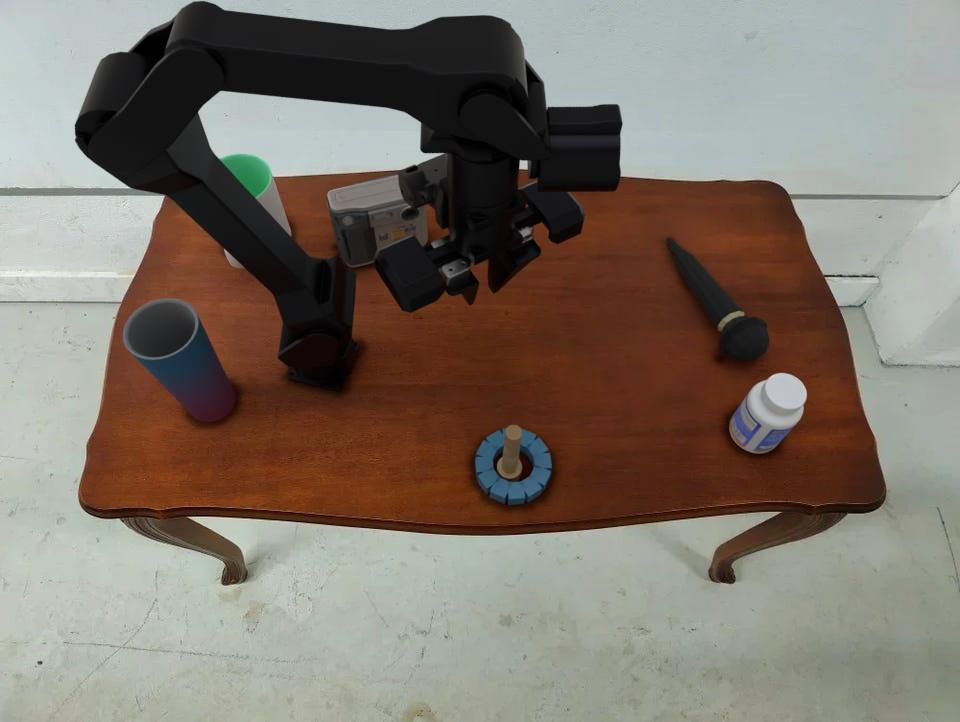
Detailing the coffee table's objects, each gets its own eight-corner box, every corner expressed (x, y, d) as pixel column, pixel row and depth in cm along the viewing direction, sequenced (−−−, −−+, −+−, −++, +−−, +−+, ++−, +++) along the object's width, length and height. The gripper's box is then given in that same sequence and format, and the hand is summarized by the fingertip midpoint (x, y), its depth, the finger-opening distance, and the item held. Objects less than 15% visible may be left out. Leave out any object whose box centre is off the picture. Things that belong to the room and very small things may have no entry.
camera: (343, 272, 87) (329, 217, 78) (335, 238, 90) (320, 180, 81) (433, 252, 89) (429, 196, 80) (422, 219, 92) (417, 161, 83)
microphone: (651, 262, 92) (735, 379, 81) (646, 235, 87) (734, 354, 76) (689, 243, 92) (779, 357, 80) (686, 214, 87) (780, 331, 75)
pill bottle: (783, 421, 77) (821, 378, 69) (771, 462, 75) (809, 423, 67) (734, 402, 79) (765, 357, 70) (721, 443, 76) (752, 401, 68)
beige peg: (493, 480, 74) (496, 441, 65) (499, 457, 75) (503, 416, 66) (518, 486, 73) (524, 447, 65) (523, 463, 75) (530, 423, 66)
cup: (231, 434, 76) (181, 365, 63) (171, 424, 76) (109, 353, 64) (252, 380, 79) (209, 303, 66) (195, 370, 80) (141, 292, 67)
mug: (284, 288, 86) (262, 231, 77) (217, 290, 86) (188, 233, 77) (294, 213, 92) (275, 153, 83) (232, 215, 92) (205, 154, 83)
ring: (478, 506, 72) (478, 500, 71) (473, 436, 76) (473, 429, 75) (553, 502, 72) (555, 496, 71) (545, 432, 76) (547, 425, 75)
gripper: (527, 85, 63) (517, 207, 76) (334, 160, 58) (360, 277, 71) (600, 164, 58) (575, 279, 71) (396, 253, 53) (411, 359, 66)
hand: (480, 295), depth 70 cm, fingers closed
